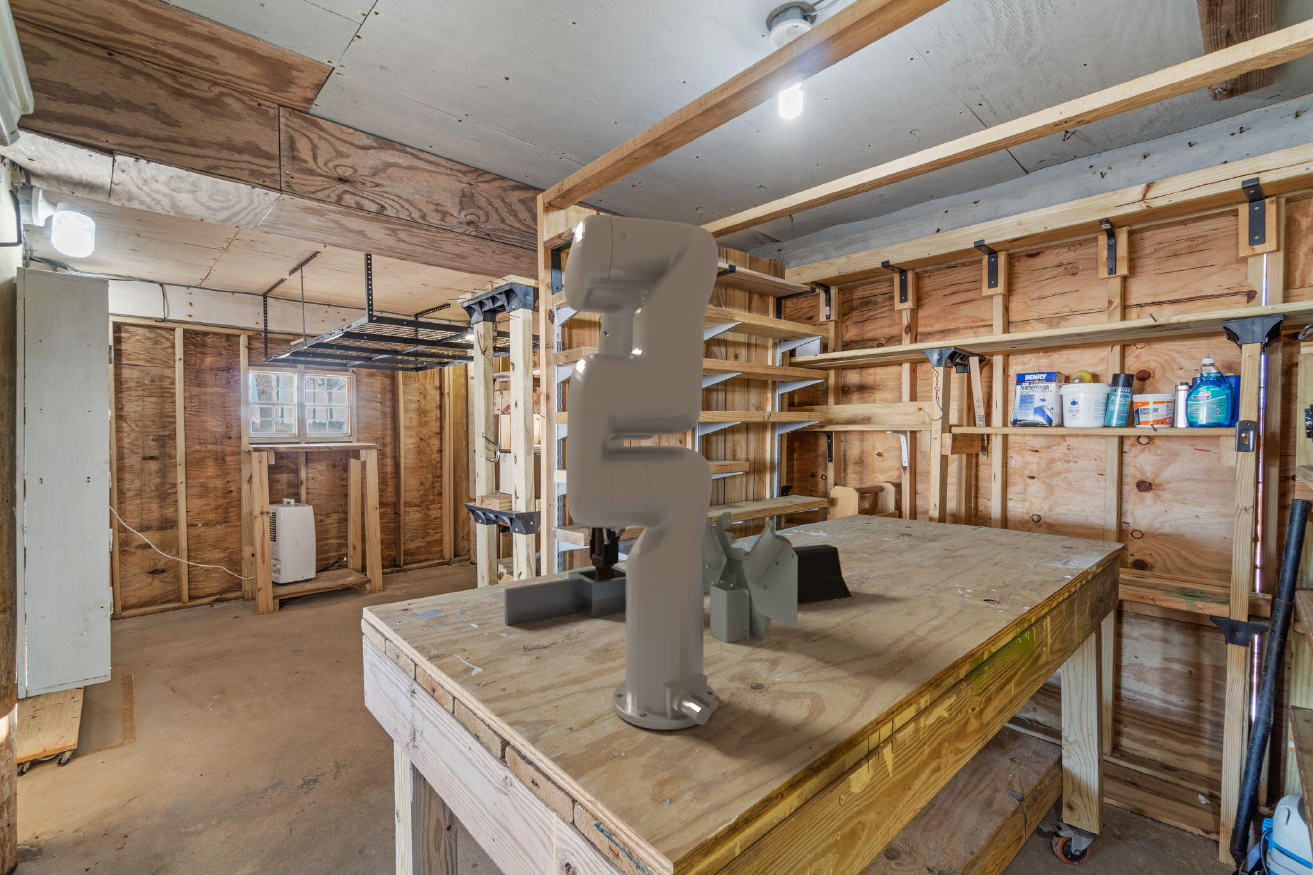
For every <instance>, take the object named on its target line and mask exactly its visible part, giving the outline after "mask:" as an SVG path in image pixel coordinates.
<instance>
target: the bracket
mask: <svg viewBox="0 0 1313 875" xmlns="http://www.w3.org/2000/svg"><path fill="white" fill-rule="evenodd" d="M714 522H715V525H716V526H715V527H714V526H713V524H712V521H711V520H710V517H709V515H708V516H707V522H706V531H705V544H704V592H705V593H707V594H709V596H710V598H709V599H710V601H709V605H710V611H709V612H710V614H709V622H710V624H709V634H710V635H711V636H712V637H714V638H716V639H718V640H720V641H722V642H725V643H728V644H729V643H733V642H737V641H740V640H741V641H742V640H745V641H747V642H749V641H750V633H751V636H752V637H753V638H755V639H757V640H759V641H763V640H764V639H765V635H766V633H767V631H768V627H769V625H770V623H771V620H774V621H777V622H779V623H781V624H784V625H787V626H789V627H792V628H794V629H798V605H797V601H798V556H797V554H796V553H795V552H794V551H793V549H792V548H793V547H794V546H793V544H792V542H791V541H790V540H789V538H788V537H786V536H784V535H781V534H777V533H776V532H775V519H770V520H769V519H768V520H765V527H764V528H763V529H762V531H761V533H760V534H759V536H758V538H757V539H756V540H755V542H754V544H753V546H752V547H751V548H750V550H749V551H750V552H749V551H748V550H746V549H744V548H743V547H733V546H732V545H734V544H735V543H737V539H736V537H735V535H734V533H733V532H730V531H725V530H726V529H727V528H728V527H730V526H732V511H727V512H723V513H721V514H720V516H719V517H718V518H717V519H716V520H715V521H714ZM732 537H733V538H732ZM748 552H749V553H748ZM746 553H748V555H744V554H746ZM792 555H794V556H792Z"/></svg>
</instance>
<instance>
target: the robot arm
mask: <svg viewBox="0 0 1313 875" xmlns="http://www.w3.org/2000/svg"><path fill="white" fill-rule="evenodd" d="M565 265H566V266H565V271H564V280H563V281H564V282H563V283H564V285H563V286H564V288H563V289H564V291H563V292H564V297H565V301H566V303H567V305H568V307H569V308H570V309H571V310H573V311H575V312H580V313H581V312H583V313H595V314H596V313H597V314H598V313H601V314H602V316H601V323H600V330H599V337H598V343H597V351H598V352H597V353H590V354H587V355H584V356H583V357H581V358H579V359H578V361H577V362H576V363H575V365H574V366H573V368H572V371H571V374H570V378H569V379H570V380H569V385H568V396H567V420H566V421H567V423H566V425H567V428H566V429H567V430H566V431H567V432H566V474H565V475H566V477H565V478H566V479H565V480H566V481H565V482H566V484H565V485H566V502H567V509H568V513H569V516H570V517H571V519H572V521H573V522H575V523H576V524H577V525H579V526H580V527H581V526H582V527H585V528H587V530H588V534H587V535H588V536H587V537H588V538H589V548H588V550H589V560H591V561H592V555H593V554H595V553H596V552H595V551H596V550H595V549H596V548H595V546H596V545H595V544H596V543H595V542H596V541H595V540H596V538H595V537H596V536H595V535H596V534H595V533H596V531H595V530H596V529H595V528H600V527H603V535H604V544H602V564H603V565H612V564H615V565H616V564H617V565H618V563H619V558H620V557H619V552H620V551H619V550H620V549H619V548H620V544H619V543H620V542H621V537H622V535H623V534H624V532H625V531H626V527H644V529H643V530H642V531H641V533H640V535H639V536H638V537H637V539H636V540H635V542H634V543H633V544H632V547H631V548H630V551H629V552H628V555H627V558H626V563H625V564H626V565H625V570H626V611H625V681H623V682H621V683H620V684H619V685H618V686H616V688H615V690H614V692H613V693H612V707H613V709H614V711H615V713H616V714H617V715H618V717H620V719H623V720H624V721H625V722H627V723H629V724H632V725H634V726H637V727H641V728H644V729H650V730H659V731H661V730H662V731H663V730H664V731H667V730H668V731H671V730H672V731H673V730H680V729H686V728H690V727H693V726H696V725H700V726H702V725H705V724H706V723H708V721H709V719H710V717H711V716H712V715H713V713H715V711H717V710H718V708H719V704H720V702H719V700H718V698H717V697H716V693H715V691H714V690H713V688H712V687H711V685H709V684H708V676H707V675H706V674H704V623H705V622H704V616H705V615H704V614H705V613H704V608H705V606H704V604H705V603H704V602H705V601H704V598H705V597H704V596H705V595H704V594H705V593H704V544H705V531H706V522H707V516H708V517H709V509H710V505H711V498H712V492H713V473H712V469H711V466H710V463H709V462H708V460H707V459H706V457H705V456H703V455H702V454H701V453H700V452H698V451H696V450H694V449H693V448H692V449H691V448H689V447H684V446H679V445H637V446H636V445H635V446H624V443H625V442H624V441H647V440H650V439H652V438H653V437H655V436H657V435H659V436H662V435H676V434H678V435H680V434H683V433H684V434H685V433H686V432H688V431H691V430H692V429H694V428H695V427H696V425H698V424H697V423H698V422H699V419H700V416H701V410H702V402H703V401H702V400H703V380H704V379H703V378H704V375H703V373H704V347H705V346H704V345H705V343H704V342H705V341H704V340H705V320H706V315H707V310H708V306H709V303H710V300H711V296H712V294H713V290H714V288H715V284H716V279H717V275H718V271H719V270H718V269H719V250H718V245H717V241H716V239H715V237H714V235H713V234H712V233H711V232H710V231H709V230H707V229H706V228H704V227H701V226H699V225H695V224H690V223H685V222H679V221H672V220H671V221H669V220H660V219H651V218H640V217H631V216H630V217H628V216H620V215H610V214H590V215H587V216H584V217H583V218H582V219H581V220H580V221H579V222H578V225H577V226H576V229H575V232H574V235H573V239H572V243H571V246H570V249H569V254H568V256H567V260H566V264H565ZM609 530H612V531H611V533H610V534H609Z"/></svg>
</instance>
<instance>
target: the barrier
mask: <svg viewBox="0 0 1313 875" xmlns="http://www.w3.org/2000/svg"><path fill="white" fill-rule="evenodd" d="M792 549H793V551H794V552H795V553H796V554H797V556H798V601H797V606H801V605H807V604H814V603H822V602H830V601H835V600H834V599H838V600H843V599H842V598H845V599H848V598H847V597H852V598H853V596H852V594H851V592H850V590H849V587H848V585H847V583H846V581H845V579H844V577H843V573H842V567H841V560H840V556H839V554H840V553H839V549H838V547H836V546H832V545H830V544H827V543H826V544H817V545H805V546H793V548H792ZM747 552H748V553H749V552H750V550H749V551H747ZM748 553H746V554H744V555H748ZM792 556H794V555H792Z"/></svg>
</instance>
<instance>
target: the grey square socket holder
mask: <svg viewBox="0 0 1313 875" xmlns="http://www.w3.org/2000/svg"><path fill="white" fill-rule="evenodd" d="M611 569H612V570H611V571H612V577H611V578H612V579H608V580H602V581H596V580H595V579H596V578H595V577H596V576H595V574H596V573H595V572H596V571H595V567H594V568H590V569H589V568H588V569H581V570H576V571H568V578H565V579H560V580H554V581H552V580H551V581H547V582H541V583H533V584H528V585H522V586H516V587H510V588H508V587H507V588H504V624H505V625H506V626H511V625H512V626H513V625H516V624H522V623H529V622H532V621H537V620H538V621H539V620H541V619H547V618H552V617H558V616H563V615H568V614H569V615H570V614H573V613H578V612H582V613H584V614H585V615H587V616H589V617H591V618H592V619H593V618H597V617H598V618H599V617H602V616H607V615H612V614H616V613H622V612H626V569H623V568H621V567H619V566H617V565H614V566H612V568H611Z"/></svg>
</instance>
